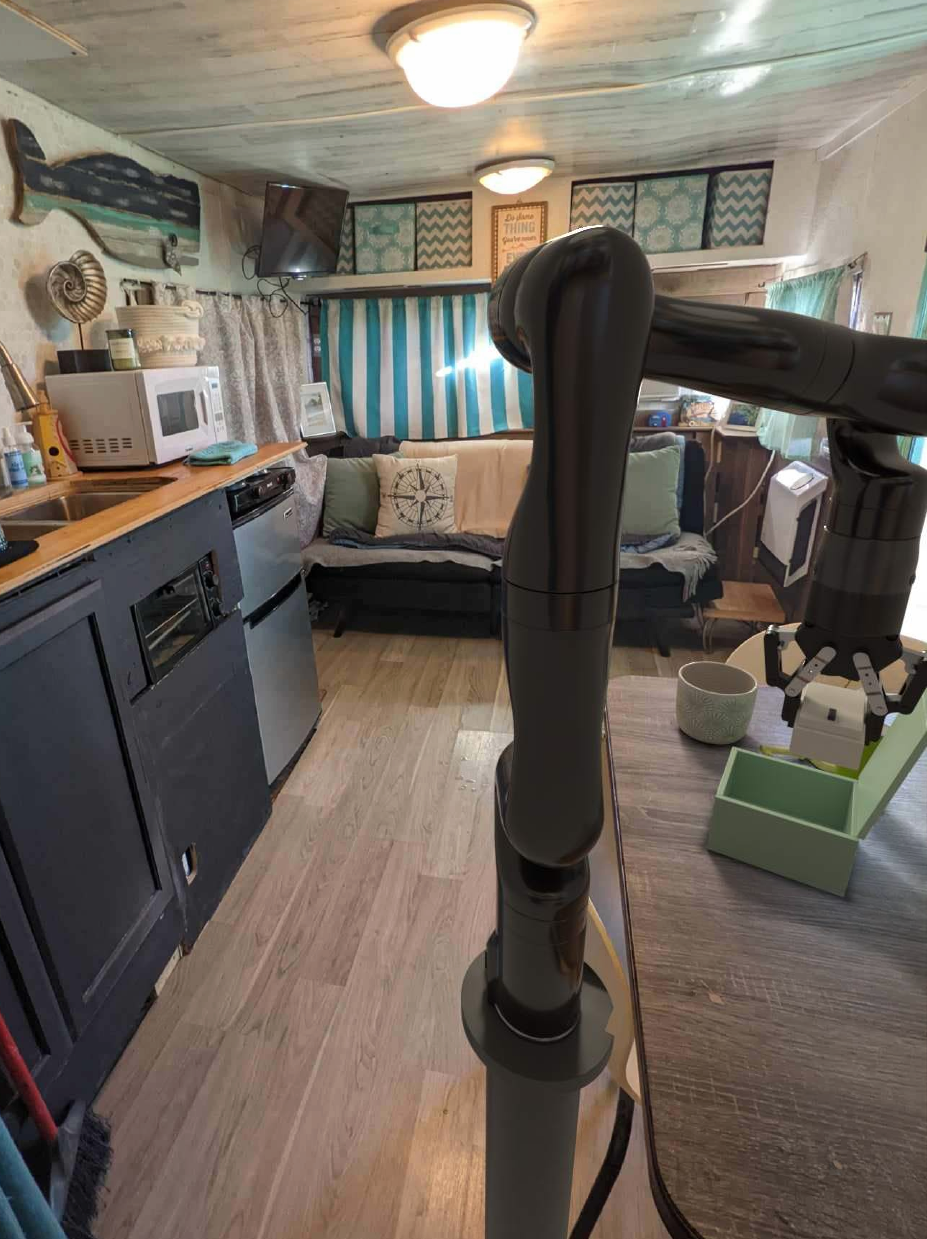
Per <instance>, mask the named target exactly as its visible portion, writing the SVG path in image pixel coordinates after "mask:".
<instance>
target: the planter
mask: <svg viewBox="0 0 927 1239" xmlns="http://www.w3.org/2000/svg"><path fill="white" fill-rule="evenodd" d="M677 673H678V674H677V682H676V684H677V685H676V697H675V717H676V722H677V725H678V727H679V728H680V729H681V730H682V731H683V733H685V734H686V735H688V736H689V737H691V738H693V739H695V740H697V741H699V742H702V743H706V744H712V745H729V744H733V743H736V742H738V741H740V740H741V739H743V737H744V736H745V735H746V733H747V732H748V730H749V727H750V724H751V720H752V717H753V713H754V709H755V704H756V701H757V696H758V691H759V687H760V684H759V681H758V679H757V678H756V677H755V676H754V675H753V674H752V673H750V672H748V671H747V670H745V669H743V668H741V667H738V666H735V665H732V664H729V663H724V662H718V661H705V660H703V661H694V662H690V663H687V664H684V665H683V666H681V667H680V668H679V670H678V672H677Z"/></svg>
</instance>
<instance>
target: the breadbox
mask: <svg viewBox="0 0 927 1239" xmlns="http://www.w3.org/2000/svg"><path fill="white" fill-rule="evenodd" d="M858 783H859V780H855V779H852V778H848V777H844V776H841V775H837V774H834V772H828V771H825V770H822V769H817V768H814V767H810V766H806V765H804V764H799V763H795V762H792V761H789V760H788V761H787V760H785V759H781V758H778V757H774V756H773V757H770V756H766V755H764V754H761V753H760V752H759V753H758V752H754V751H750V750H748V749H743V748H739V747H736V746H732V747H731V750H730V753H729V755H728V759H727V762H726V764H725V768H724V770H723V774H722V776H721V780H720V782H719V784H718V788H717V791H716V793H715V797H714V802H713V808H712V814H711V820H710V827H709V833H708V839H707V845H706V850H709V851H711V852H714V853H717V854H719V855H723V856H726V857H729V858H730V859H735V860H737V861H740V862H742V863H745V864H747V865H751V866H754V867H756V868H758V869H759V868H760V869H763V870H765V871H768V872H771V873H773V874H777V875H779V876H781V877H785V878H788V879H790V880H792V881H796V882H799V883H801V884H804V885H807V886H810V887H813V888H816V889H818V890H822V891H823V892H827V893H829V894H833V895H835V896H838V897H841V898H844V897H845V894H846V891H847V887H848V883H849V881H850V880H849V879H850V876H851V872H852V869H853V866H854V862H855V858H856V854H857V850H858V847H859V843H860V838H858V837H856V830H857V806H858Z"/></svg>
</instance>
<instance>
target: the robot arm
mask: <svg viewBox="0 0 927 1239" xmlns="http://www.w3.org/2000/svg"><path fill="white" fill-rule="evenodd" d="M493 284H494V285H493V286H492V287H491V291H490V293H489V294H490V295H489V297H488V300H487V307H486V322H487V323H486V324H487V329H488V332H489V336H490V339H491V342H492V343H493V346H494V347H495V349H496V350H497V351H498V353H499V354H500V356H501V357H502V359H504V360H505V361H506V362H507V363H508V364H510V365H511V366H512V367H514V368H516V369H517V370H519V371H520V372H523V373H525V374H526V375H527V374H528V375H530V376H532V391H533V392H532V394H533V397H532V398H533V402H532V403H533V433H532V434H533V436H532V447H531V448H532V449H531V455H530V462H529V466H528V471H527V475H526V478H525V481H524V484H523V487H522V490H521V492H520V495H519V498H518V500H517V502H516V505H515V508H514V511H513V513H512V516H511V519H510V522H509V525H508V527H507V530H506V531H507V532H506V534H505V538H504V541H503V542H504V544H503V548H502V555H501V564H500V565H501V566H500V569H501V570H500V623H501V626H500V627H501V639H502V651H503V659H504V667H505V668H504V669H505V675H506V681H507V688H508V694H509V700H510V705H511V713H512V722H513V725H512V726H513V740H512V741H511V742H509V743H508V744H507V745H506V746H505V748H504V749H503V750H502V752H501V753H500V755H499V757H498V759H497V762H496V765H495V770H494V780H493V781H494V783H493V786H494V787H493V806H494V807H493V808H494V809H493V810H494V811H493V818H494V820H493V822H494V825H493V828H494V830H493V832H494V833H493V837H494V838H493V839H494V842H493V843H494V856H495V859H494V860H495V927H494V929H493V931H492V933H491V934H490V935H489V937H488V939H487V941H486V943H485V945H486V948H485V949H486V950H485V949H484V950H485V968H486V969H487V1003H488V1004H490V1005H491V1006H493V1007H494V1008H495V1009H496V1012H497V1014H498V1016H499V1018H500V1020H501V1021H502V1023H503V1024H504V1025H505V1026H506V1027H507V1029H509V1030H510V1031H511V1032H512V1033H513V1034H515V1035H516V1036H518V1037H519V1038H521V1039H523V1040H525V1041H528V1042H531V1043H535V1044H544V1045H545V1044H554V1043H558V1042H560V1041H562V1040H564V1039H566V1038H567V1037H569V1036H570V1035H571V1034H572V1033H573V1031H574V1030H575V1029H576V1027H577V1025H578V1022H579V1018H580V1009H581V1005H580V1003H581V992H582V983H583V982H582V974H583V962H584V961H585V951H586V950H585V949H586V939H587V938H586V937H587V928H588V913H589V903H590V902H589V900H590V888H591V867H590V860H589V859H590V858H589V854H590V852H591V851H593V849H594V848H595V846H597V843H598V842H599V839H600V837H601V835H602V833H603V830H604V826H605V800H604V799H605V798H604V783H603V757H602V756H603V755H602V754H603V752H602V740H603V739H602V737H603V724H604V716H605V708H606V703H607V702H606V701H607V695H608V688H609V680H610V671H611V663H612V662H611V661H612V650H613V641H614V633H615V627H616V620H617V619H616V618H617V612H618V611H617V610H618V598H619V588H620V587H619V586H620V576H621V575H620V573H621V547H622V546H621V545H622V536H623V535H622V534H623V533H622V532H623V526H624V515H625V507H626V506H625V505H626V496H627V483H628V472H629V469H628V468H629V461H630V453H631V452H630V451H631V444H632V437H633V431H634V426H635V420H636V416H637V411H638V410H637V409H638V404H639V400H640V395H641V391H642V390H641V389H642V384H643V380H647V381H652V382H657V383H661V384H667V385H670V386H674V387H680V388H683V389H688V390H692V391H696V392H700V393H704V394H706V395H711V396H715V397H718V398H722V399H726V400H730V401H734V402H738V403H742V404H746V405H751V406H753V407H758V408H761V409H762V408H763V409H767V410H771V411H777V412H781V413H785V414H790V415H794V416H800V417H809V418H810V417H811V418H821V419H822V418H824V419H825V428H826V436H827V445H828V446H827V447H828V455H829V456H828V457H829V465H830V470H831V476H832V487H831V492H830V497H829V502H828V507H827V513H826V517H825V524H824V528H823V531H822V534H821V537H820V540H819V543H818V545H817V548H816V553H815V558H814V562H813V563H812V567H811V572H812V573H811V579H810V584H809V590H808V594H807V600H806V606H805V611H804V615H803V620H802V622H801V623H800V624H799V625H798V626H797V627H796V628H780V626H778V625H776V624H770V625H768V626H767V628H766V630H765V632H764V636H763V652H764V655H763V656H764V657H763V658H764V672H765V674H764V675H765V683H766V685H767V686H768V687H770V688H778V689H780V690H781V691H782V692H783V695H784V698H783V703H782V708H781V714H780V717H781V721H783V722H787V724H786V728H789V729H793V727H794V723H795V719H796V715H797V711H798V709H799V705H800V701H801V696H802V691H803V688H804V687H805V686H806V685H807V684H808V683H810V682H811V681H812V680H813V681H814V680H815V678H816V677H817V674H818V675H820V676H824V675H825V677H841V678H843V679H845V680H851V682H852V681H853V682H858V683H859V682H860V683H861V685H862V688H863V689H864V692H865V694H866V695H867V698H868V701H869V704H868V708H867V712H866V722H865V724H866V727H865V742H864V745H865V746H869V745H870V741H872V742H877V741H878V740H879V739H880V737H881V733H882V729H883V725H884V724H885V721H886V717H887V716H888V715H890V714H896V713H897V714H898V713H901V714H903V715H909V714H911V713H912V712H913V711H914V709H915V707H916V705H917V704H918V702H919V700H920V698H921V696H922V695H923V693H924V691H925V689H926V688H927V649H925V650H922V651H919V650H916V649H912V648H909V647H906V646H904V644H903V641H902V640H901V637H900V636H901V633H902V629H903V624H904V620H905V616H906V612H907V609H908V604H909V600H910V596H911V593H912V589H913V585H914V584H915V581H916V579H917V568H918V563H919V559H920V547H921V546H920V545H921V537H922V533H923V531H924V530H923V529H924V526H925V521H926V517H927V469H926V468H925V467H923V466H921V465H919V464H917V463H915V462H912V461H910V460H909V459H907V458H906V457H904V456H903V455H902V454H901V452H900V447H899V442H898V437H907V438H914V439H915V438H916V439H925V438H926V439H927V339H924V338H918V337H917V338H916V337H906V336H899V335H890V334H889V335H888V334H880V333H879V334H878V333H871V332H866V331H862V330H857V329H854V328H851V327H848V326H846V325H843V324H840V323H835V322H832V321H829V320H824V319H821V318H818V317H817V318H816V317H813V316H811V315H810V316H809V315H806V314H801V313H797V312H793V311H787V310H782V309H776V308H768V307H759V306H750V305H739V304H731V303H730V304H729V303H721V302H720V303H719V302H711V301H709V302H708V301H701V300H695V299H694V300H693V299H685V298H680V297H675V296H670V295H665V294H660V293H657V292H655V282H654V275H653V271H652V268H651V265H650V262H649V259H648V257H647V255H646V253H645V252H644V250H643V248H642V247H641V245H640V244H639V242H638V241H637V240H635V239H634V238H633V237H632V236H631V235H630V234H629V233H627V232H626V231H624V230H622V229H620V228H617V227H615V226H609V225H593V226H587V227H583V228H579V229H576V230H574V231H571V232H569V233H566V234H563V235H560V236H558V237H555V238H553V239H550V240H548V241H546V242H543V243H541V244H538V245H535V246H534V247H531V248H529V249H528V250H526V251H525V252H523V253H521V254H520V255H518V256H517V257H516V258H515V259H514V260H513V261H511V262H510V263H509V264H508V265H507V266H506V267H505V268H504V269H503V271H502V272H501V273H500V275H499V276H498V277H497V279H496V281H495V282H494V283H493ZM794 641H795V643H796V644H797V646H798V647H799V649H800V650H801V652H802V654H803V655H804V658H803V659H802V661H801V662H800V664H799V665H798V667H797V668H796V669H795V670H794V671H793V673H792V674H791V675H790V674H788V673H786V672H784V671H783V655H782V654H783V653H782V652H783V651H786V650H787V649H788V647H789V645H790V643H791V642H794ZM898 660H901V661H903V663H904V664H903V668H904V671H905V673H906V674H908V675H907V676H906V678H905V680H904V682H903V684H902V685H901V687H900V689H899V691H898V692H897V694H887V691H886V689H885V686H884V683H883V678H882V674H881V672H882V671H883V670H884V669H886V668H888V667H889V666H891V665H892V664H894V663H895V662H897V661H898Z"/></svg>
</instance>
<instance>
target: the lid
mask: <svg viewBox="0 0 927 1239" xmlns="http://www.w3.org/2000/svg"><path fill="white" fill-rule="evenodd" d="M889 726H890V728H889V729H888V731H887V732H886V734H885V735H884V737H883V739H882V740H881V742H880V743H879V745H878V747H877V748H876V750H875V751H874V753H873V755H872V756H871V758H870V759H869V761H868V763H867V764H866V766H865V767H864V769H863V771H862V772H861V774H860V775H859V783H858V806H857V830H856V837H858V838H859V840H861V841H864V840H865V839H866V837H867V836H868V835H869V833H870V832H871V831H872V829H873V827H874V826H875V824H876V823H877V822H878V820H879V818H880V817H881V815H882V814H883V812H884V811H885V810H886V809H887V807H888V805H889V803H890V802H891V801H892V799H893V798H894V796H895V795H896V793H897V792H898V791H899V789H900V787H901V786H902V785H903V783H904V781H905V780H906V779H907V777H908V776H909V774H910V773H911V771H912V769H913V768H914V767H915V765H916V763H917V762H918V760H919V759H920V758H921V756H922V755H923V753H924V752H925V751H926V749H927V688H926V689H925V691H924V693H923V695H922V696H921V698H920V700H919V702H918V704H917V705H916V707H915V709H914V711H913V712H912V713H911V714H909V715H903V714H901V713H897V714H896V717H895V718H894V719H893V721H892V722H891V724H890V725H889Z"/></svg>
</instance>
